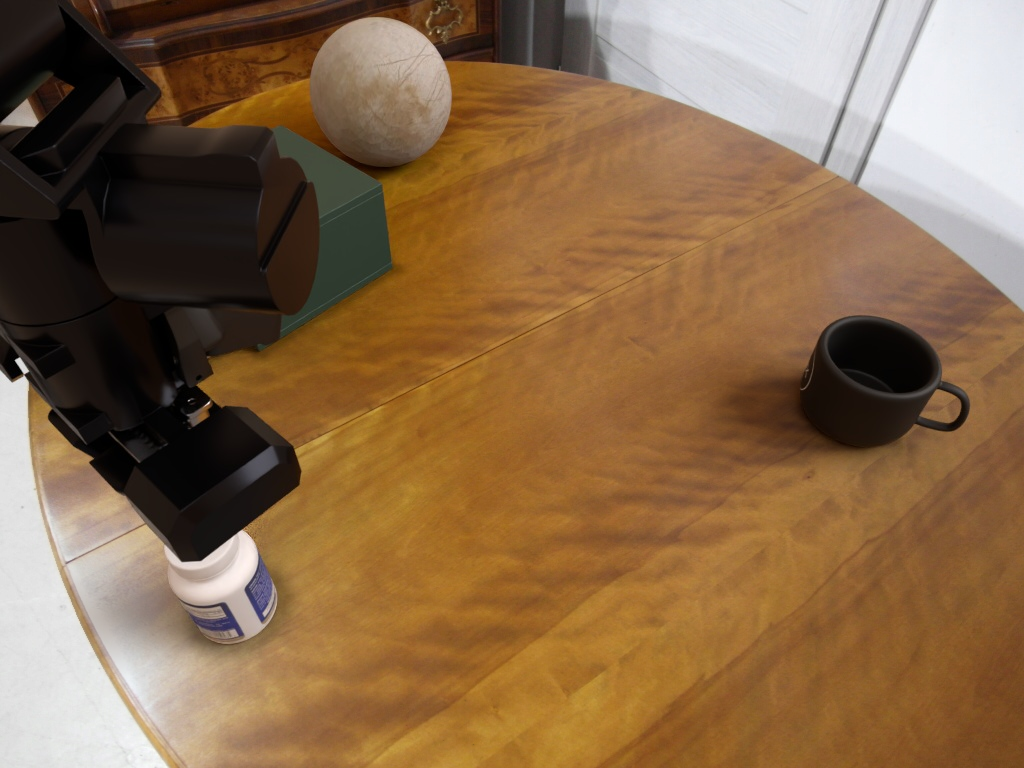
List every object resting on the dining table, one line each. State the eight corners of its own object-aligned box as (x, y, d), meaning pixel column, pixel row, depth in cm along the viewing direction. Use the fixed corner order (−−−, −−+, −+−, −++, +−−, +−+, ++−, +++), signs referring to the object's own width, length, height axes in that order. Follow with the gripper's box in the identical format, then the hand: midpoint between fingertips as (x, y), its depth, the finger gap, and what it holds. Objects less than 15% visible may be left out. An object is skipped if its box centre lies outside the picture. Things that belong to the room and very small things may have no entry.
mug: (779, 430, 62) (805, 369, 57) (808, 360, 68) (834, 299, 63) (935, 491, 59) (978, 432, 53) (952, 412, 64) (993, 352, 59)
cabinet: (259, 352, 67) (231, 265, 60) (167, 277, 74) (132, 191, 67) (393, 268, 75) (382, 183, 68) (299, 208, 82) (281, 124, 75)
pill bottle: (251, 557, 54) (217, 484, 47) (293, 608, 51) (264, 538, 45) (181, 607, 51) (135, 537, 45) (222, 663, 49) (180, 597, 42)
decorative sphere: (448, 119, 94) (442, -10, 83) (460, 189, 85) (454, 53, 73) (323, 126, 93) (300, -4, 82) (320, 198, 83) (293, 61, 72)
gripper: (369, 281, 31) (406, 500, 43) (123, 122, 39) (210, 341, 51) (113, 446, 25) (235, 646, 37) (-111, 219, 34) (46, 441, 45)
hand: (182, 497), depth 43 cm, fingers closed
